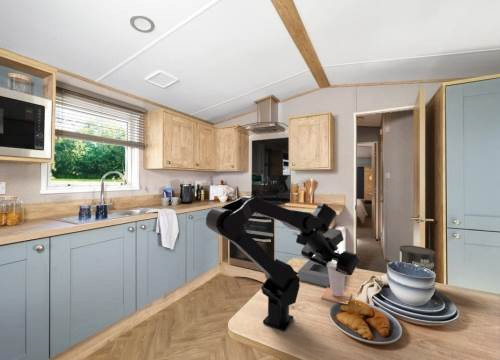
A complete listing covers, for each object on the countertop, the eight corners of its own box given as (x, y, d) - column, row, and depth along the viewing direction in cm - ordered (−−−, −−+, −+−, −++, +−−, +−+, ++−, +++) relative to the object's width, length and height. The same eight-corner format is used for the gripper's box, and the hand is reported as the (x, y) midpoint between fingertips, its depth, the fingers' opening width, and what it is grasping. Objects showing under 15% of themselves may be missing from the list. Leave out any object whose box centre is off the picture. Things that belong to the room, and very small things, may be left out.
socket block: (336, 289, 81) (336, 279, 80) (298, 280, 88) (298, 271, 88) (343, 275, 93) (343, 266, 92) (308, 268, 100) (309, 259, 100)
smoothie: (347, 299, 71) (346, 254, 71) (325, 296, 74) (325, 252, 74) (347, 291, 77) (346, 249, 77) (327, 287, 80) (326, 247, 80)
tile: (347, 305, 70) (347, 304, 70) (321, 298, 74) (321, 297, 74) (351, 294, 77) (351, 293, 77) (327, 288, 81) (327, 287, 81)
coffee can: (442, 298, 75) (443, 255, 75) (407, 295, 77) (408, 253, 77) (424, 284, 85) (425, 246, 85) (394, 281, 87) (394, 244, 87)
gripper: (356, 226, 66) (377, 259, 71) (307, 217, 81) (328, 244, 87) (337, 259, 61) (361, 290, 67) (290, 242, 77) (313, 268, 83)
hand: (339, 270), depth 76 cm, fingers closed on smoothie, 6 cm apart
